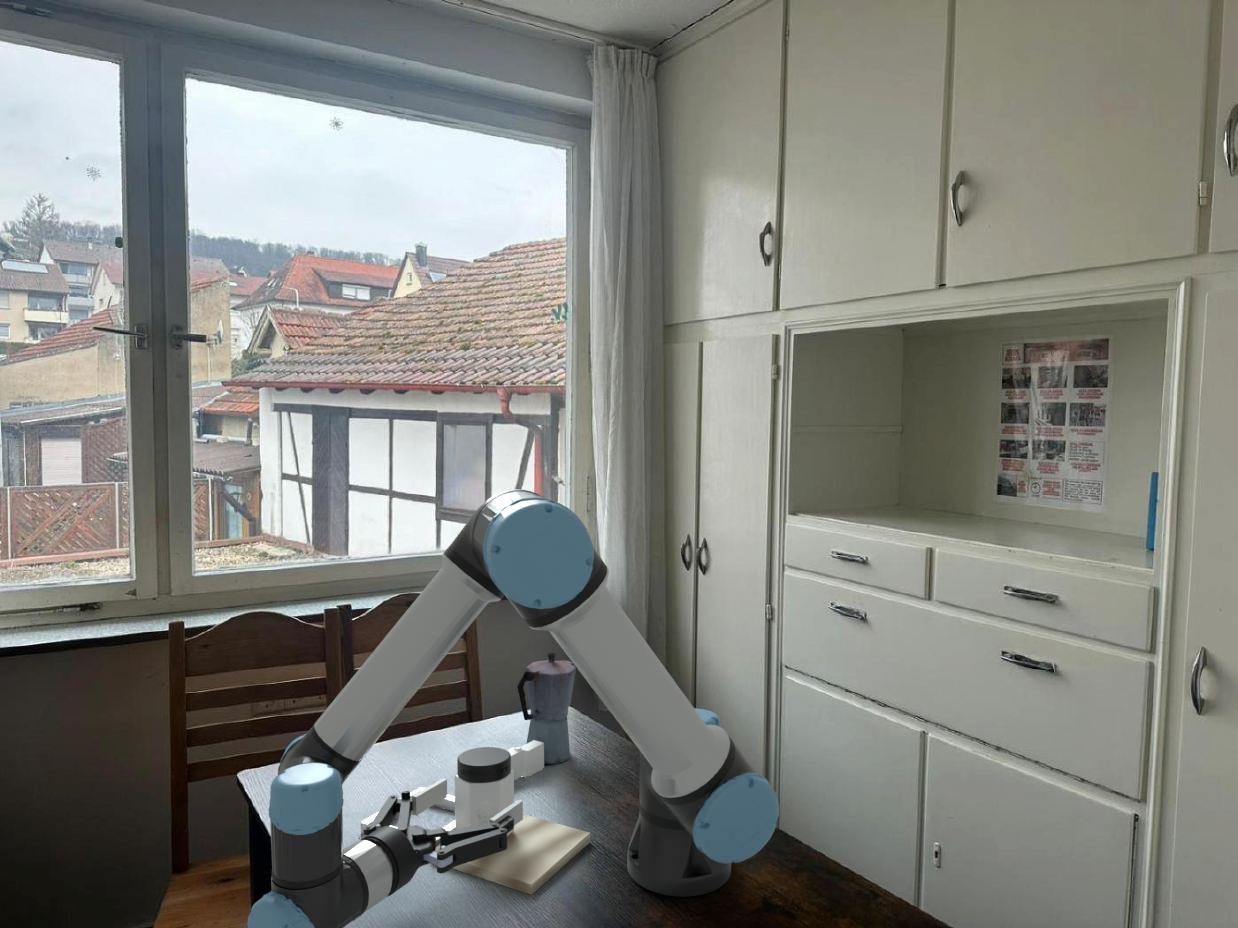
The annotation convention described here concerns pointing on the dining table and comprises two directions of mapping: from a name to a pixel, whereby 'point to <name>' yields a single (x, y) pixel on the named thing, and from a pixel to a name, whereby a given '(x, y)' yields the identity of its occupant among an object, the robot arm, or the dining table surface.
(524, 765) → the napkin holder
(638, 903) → the dining table surface
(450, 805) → the white square frame
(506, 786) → the jar
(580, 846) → the board
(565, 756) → the moka pot
